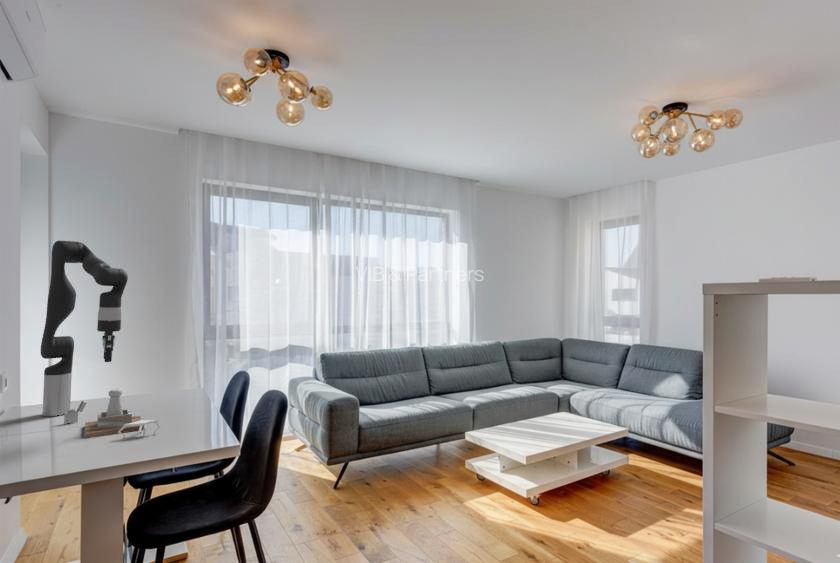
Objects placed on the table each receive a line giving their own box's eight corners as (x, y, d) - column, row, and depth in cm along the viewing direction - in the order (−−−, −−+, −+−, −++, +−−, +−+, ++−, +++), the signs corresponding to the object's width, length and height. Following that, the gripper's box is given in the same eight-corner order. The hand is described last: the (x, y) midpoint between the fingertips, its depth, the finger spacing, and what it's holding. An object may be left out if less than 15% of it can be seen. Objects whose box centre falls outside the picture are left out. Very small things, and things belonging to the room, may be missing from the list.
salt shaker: (107, 426, 166) (109, 391, 167) (102, 424, 170) (103, 390, 170) (125, 423, 171) (126, 389, 171) (120, 421, 174) (121, 387, 175)
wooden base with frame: (84, 426, 172) (85, 412, 172) (139, 419, 182) (140, 405, 183) (84, 437, 157) (85, 422, 158) (144, 429, 168) (144, 414, 168)
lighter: (65, 424, 174) (66, 404, 175) (63, 423, 175) (64, 403, 176) (86, 420, 181) (87, 400, 181) (84, 419, 181) (85, 400, 182)
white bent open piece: (150, 430, 168) (150, 416, 168) (160, 433, 163) (161, 420, 163) (114, 437, 158) (114, 423, 158) (124, 442, 153) (124, 427, 153)
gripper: (97, 317, 177) (95, 358, 177) (98, 320, 166) (96, 363, 165) (119, 317, 182) (117, 357, 181) (122, 319, 170) (120, 362, 170)
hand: (107, 360), depth 173 cm, fingers open, 8 cm apart
